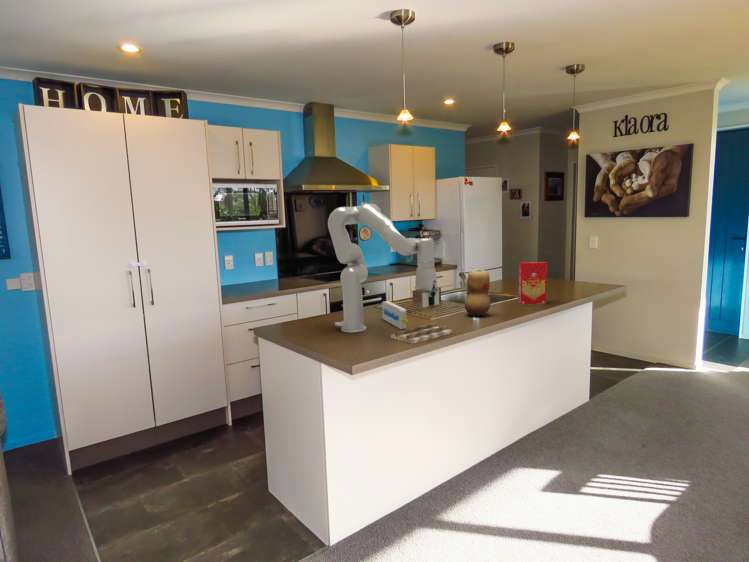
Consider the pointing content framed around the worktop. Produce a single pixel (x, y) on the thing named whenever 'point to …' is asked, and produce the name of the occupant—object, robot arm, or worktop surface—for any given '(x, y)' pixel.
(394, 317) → the white and blue box
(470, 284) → the tan lobed piece
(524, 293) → the food packaging
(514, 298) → the worktop surface
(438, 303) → the brown rectangular block
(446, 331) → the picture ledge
